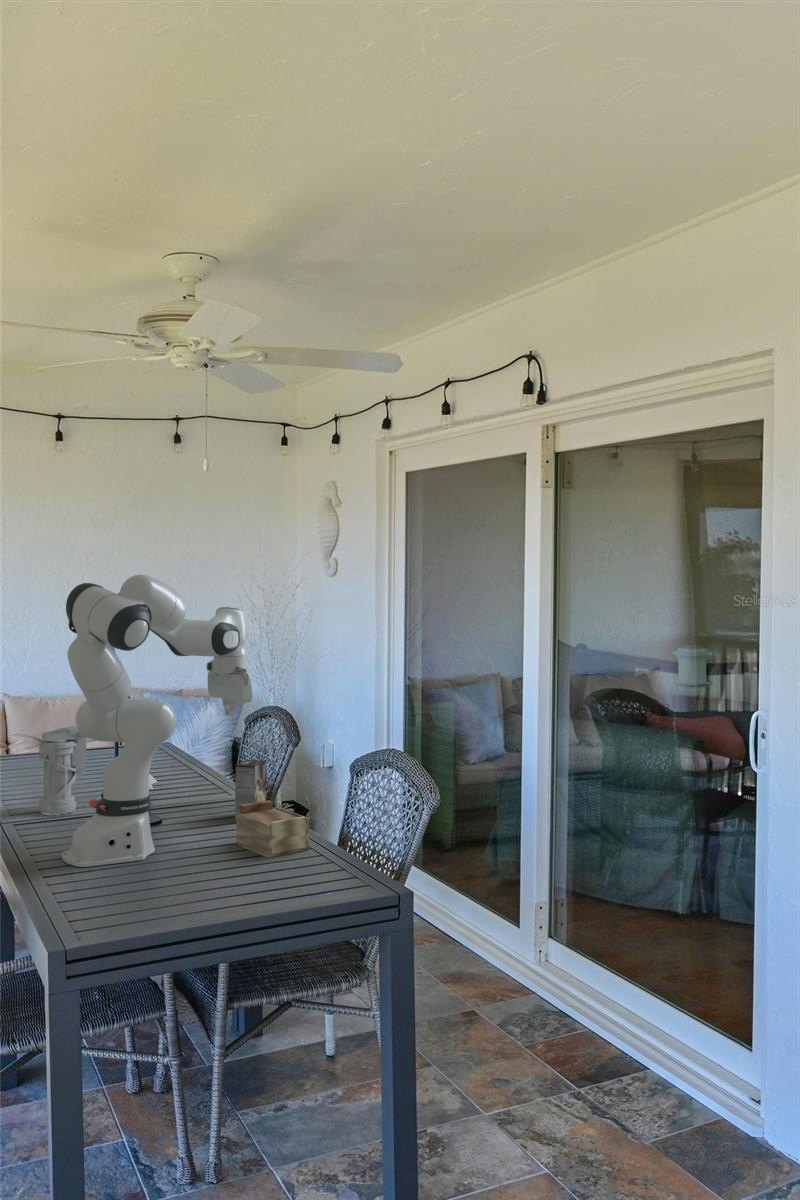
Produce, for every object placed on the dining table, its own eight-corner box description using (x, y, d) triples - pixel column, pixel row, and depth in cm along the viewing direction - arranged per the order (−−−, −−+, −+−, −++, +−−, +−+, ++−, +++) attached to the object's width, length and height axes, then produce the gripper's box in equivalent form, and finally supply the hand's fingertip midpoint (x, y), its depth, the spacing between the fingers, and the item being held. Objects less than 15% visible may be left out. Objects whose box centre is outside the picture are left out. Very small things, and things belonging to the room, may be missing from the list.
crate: (268, 857, 243) (268, 823, 243) (236, 844, 256) (236, 811, 256) (308, 849, 251) (308, 816, 251) (275, 837, 263) (276, 805, 263)
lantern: (43, 817, 284) (43, 731, 283) (36, 810, 293) (36, 727, 292) (88, 812, 290) (88, 728, 290) (80, 805, 299) (80, 724, 299)
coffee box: (245, 813, 291) (245, 759, 291) (266, 814, 290) (266, 760, 289) (234, 820, 282) (234, 764, 282) (255, 821, 281) (255, 765, 280)
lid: (269, 828, 244) (269, 817, 244) (236, 815, 257) (236, 805, 257) (304, 822, 251) (304, 811, 251) (271, 810, 264) (271, 800, 264)
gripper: (258, 668, 264) (258, 719, 264) (223, 662, 280) (223, 710, 281) (237, 669, 260) (237, 721, 261) (203, 663, 277) (203, 712, 277)
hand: (229, 715), depth 271 cm, fingers closed
